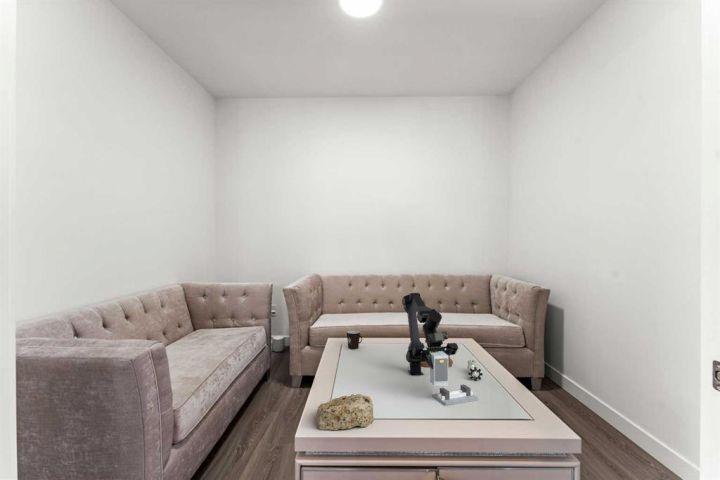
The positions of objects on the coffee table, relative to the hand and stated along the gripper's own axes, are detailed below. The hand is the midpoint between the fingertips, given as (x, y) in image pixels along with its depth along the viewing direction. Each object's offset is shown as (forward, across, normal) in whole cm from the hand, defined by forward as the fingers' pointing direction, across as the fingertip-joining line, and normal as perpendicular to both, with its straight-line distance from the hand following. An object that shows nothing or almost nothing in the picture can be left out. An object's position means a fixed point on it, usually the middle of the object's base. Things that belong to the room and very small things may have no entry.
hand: (440, 368), depth 149 cm
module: (+4, 0, +6) cm, 7 cm away
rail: (+8, +7, +11) cm, 15 cm away
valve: (-8, +26, +28) cm, 39 cm away
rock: (+18, -40, +2) cm, 44 cm away
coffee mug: (-49, -25, +69) cm, 89 cm away
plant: (-26, +15, +46) cm, 55 cm away
